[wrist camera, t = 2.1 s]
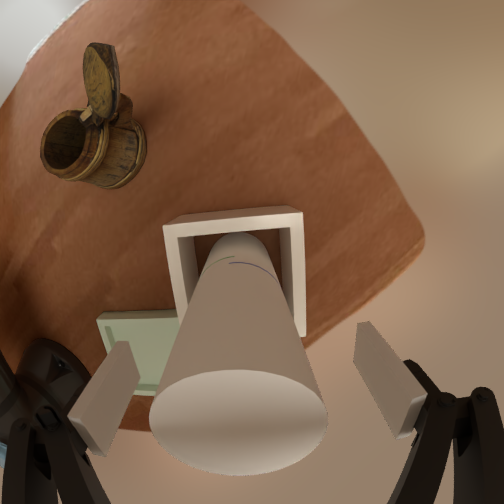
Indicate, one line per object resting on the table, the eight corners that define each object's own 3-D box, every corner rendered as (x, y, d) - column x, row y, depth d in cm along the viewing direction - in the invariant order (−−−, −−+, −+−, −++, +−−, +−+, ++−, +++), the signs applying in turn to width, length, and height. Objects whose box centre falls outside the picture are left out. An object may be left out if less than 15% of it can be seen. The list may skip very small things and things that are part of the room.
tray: (128, 384, 38) (123, 393, 35) (103, 311, 35) (96, 319, 32) (207, 385, 38) (206, 396, 36) (191, 308, 35) (188, 316, 32)
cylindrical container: (266, 291, 35) (307, 473, 10) (207, 287, 34) (161, 468, 10) (271, 234, 33) (348, 368, 9) (210, 230, 32) (136, 358, 8)
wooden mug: (192, 138, 30) (139, 91, 12) (103, 202, 31) (1, 227, 14) (157, 82, 28) (91, 8, 10) (74, 147, 29) (-28, 136, 12)
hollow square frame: (195, 312, 35) (184, 346, 27) (180, 215, 32) (162, 225, 24) (292, 304, 35) (306, 336, 27) (287, 205, 32) (302, 212, 24)
